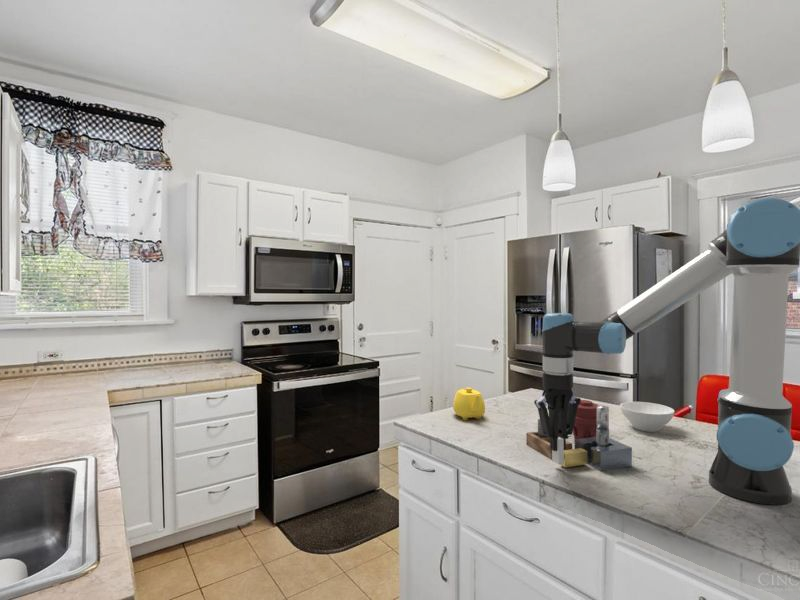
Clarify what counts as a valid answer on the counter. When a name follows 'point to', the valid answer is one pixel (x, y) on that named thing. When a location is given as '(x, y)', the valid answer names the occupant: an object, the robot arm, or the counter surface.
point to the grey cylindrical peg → (602, 426)
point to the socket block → (606, 454)
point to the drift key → (574, 457)
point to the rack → (542, 441)
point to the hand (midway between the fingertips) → (557, 462)
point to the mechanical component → (585, 420)
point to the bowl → (647, 415)
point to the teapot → (469, 404)
